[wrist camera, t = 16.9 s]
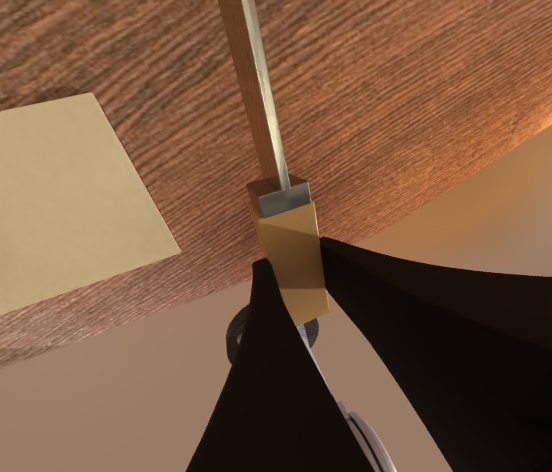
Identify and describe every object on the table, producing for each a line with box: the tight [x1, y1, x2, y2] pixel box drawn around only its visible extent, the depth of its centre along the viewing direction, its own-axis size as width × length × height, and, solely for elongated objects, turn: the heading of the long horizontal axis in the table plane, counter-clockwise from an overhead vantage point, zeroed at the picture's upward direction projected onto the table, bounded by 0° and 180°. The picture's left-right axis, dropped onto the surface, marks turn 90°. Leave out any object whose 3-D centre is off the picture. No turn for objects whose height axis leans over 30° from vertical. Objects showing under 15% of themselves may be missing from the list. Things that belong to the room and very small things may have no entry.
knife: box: [218, 0, 329, 326], centre depth 7 cm, size 14×2×3 cm, turn 14°
